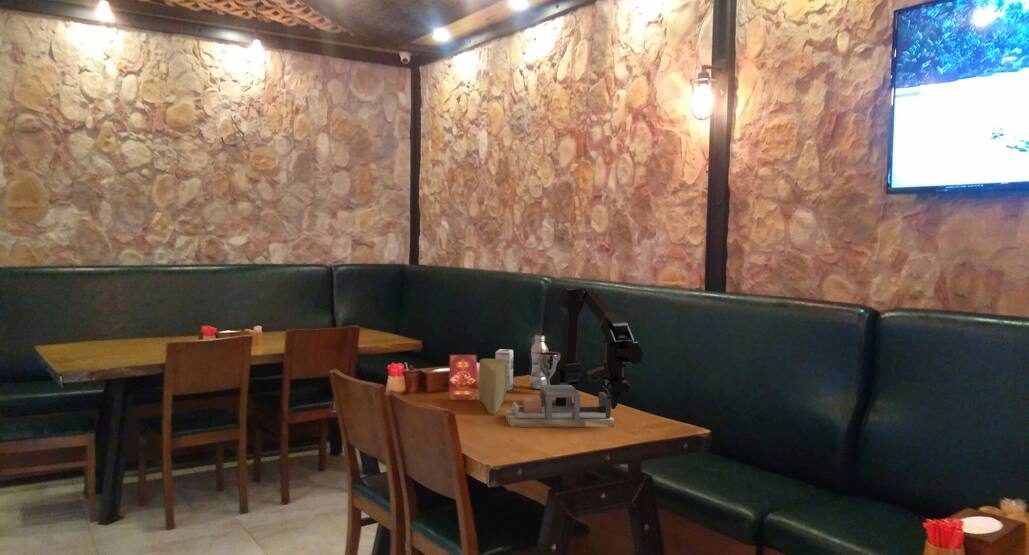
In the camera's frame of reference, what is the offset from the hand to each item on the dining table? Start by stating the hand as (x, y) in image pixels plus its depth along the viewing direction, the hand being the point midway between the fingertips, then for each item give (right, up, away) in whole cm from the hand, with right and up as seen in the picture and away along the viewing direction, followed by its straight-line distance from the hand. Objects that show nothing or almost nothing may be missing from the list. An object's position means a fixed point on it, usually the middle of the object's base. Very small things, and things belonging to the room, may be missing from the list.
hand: (613, 408), depth 249 cm
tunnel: (-17, -2, -2) cm, 17 cm away
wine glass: (-19, -1, +38) cm, 43 cm away
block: (-26, -1, -3) cm, 26 cm away
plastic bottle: (-22, -1, +48) cm, 53 cm away
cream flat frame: (-17, -4, -2) cm, 18 cm away
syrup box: (-35, 0, +46) cm, 58 cm away
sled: (-17, -1, -2) cm, 17 cm away
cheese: (-38, -2, +15) cm, 41 cm away
